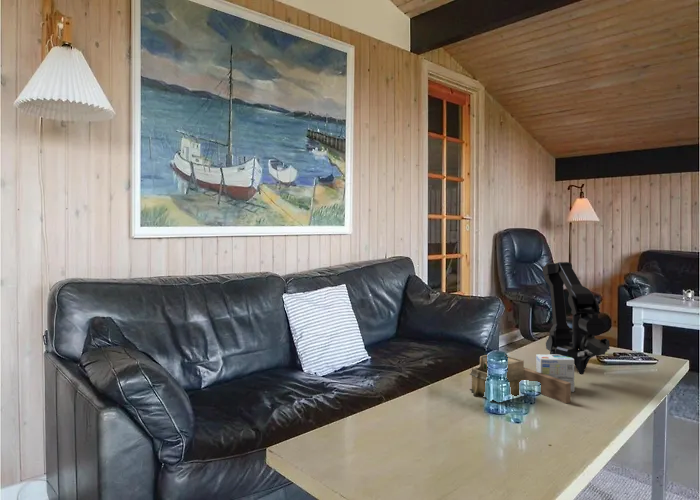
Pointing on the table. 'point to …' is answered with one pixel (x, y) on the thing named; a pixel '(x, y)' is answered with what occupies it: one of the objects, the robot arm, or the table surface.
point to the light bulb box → (556, 367)
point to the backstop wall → (550, 385)
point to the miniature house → (513, 375)
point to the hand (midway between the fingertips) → (581, 374)
